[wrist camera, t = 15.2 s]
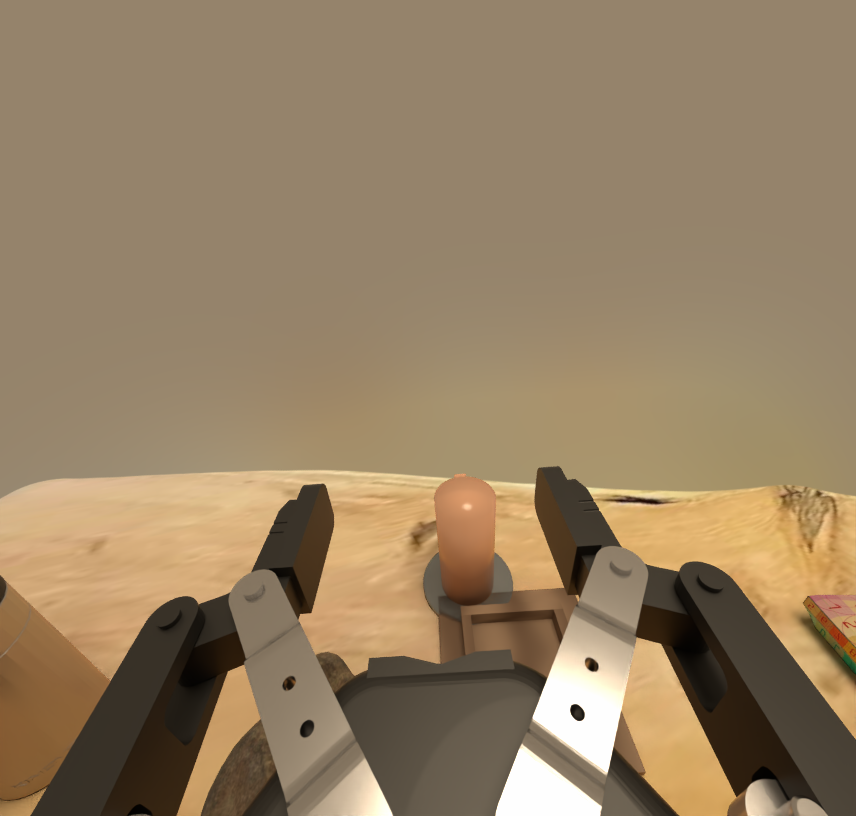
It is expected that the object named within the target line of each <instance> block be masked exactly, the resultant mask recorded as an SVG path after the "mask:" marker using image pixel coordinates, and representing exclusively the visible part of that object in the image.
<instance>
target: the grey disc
mask: <svg viewBox="0 0 856 816" xmlns="http://www.w3.org/2000/svg"><path fill="white" fill-rule="evenodd" d="M423 584H424V592H425V596H426V599H427V602H428V604H429V605H430V607H431V608H432V610H433V611H434V612H435V613H436V614H437V615H438V616H439V614H440V613H441V614H442V613H444V616H445V617H446V615H447V617H448V614H451V619H453V618H452V616H453V617H454V619H460V618H461V614H458V613H461V612H459V611H461V606H463V605H460V606H459V607H457V609H456V607H455V606H456V604H457V603H456V604H455V606H454V605H453V603H455V602H453V601H452V600H451V601H448V600H447V599H448V598H447V595H446V594H445V592H444V590H443V587H442V582H441V570H440V559H439V552H438V553H437V554H436V555H435V556H434V557H433V558H432V559H431V561H430V562H429V564H428V566H427V568H426V570H425V574H424V581H423ZM511 591H513V581H512V576H511V573H510V570H509V568H508V566H507V565H506V563H505V562H504V561H503V559H502V558H501V557H500V556H499V555H497V554H496V553H495V552H494V585H493V590H492V592H491V594H490V596H489V599H493V597H491V596H493V595H498V594H499V592H500V593H501V594H500V595H498V597H497V596H494V601H495V599H496V601H497V602H496V601H495V603H494V602H492V601H490V600H488V601H487V600H485V601H487V602H486V603H485V602H482V603H481V604H482V605H487V604H488V605H489V604H491V603H492V604H504V603H508V602H509V600H510V599H511V596H512V592H511ZM503 592H504V593H503ZM505 592H506V593H507V594H505ZM492 593H493V595H492ZM494 593H495V594H494ZM496 593H497V594H496ZM502 593H503V594H502ZM510 593H511V594H510ZM504 594H505V595H504ZM508 594H509V595H508ZM503 595H504V597H502V598H501V596H503ZM438 596H440V597H438ZM442 596H446V598H445V597H444V598H445V605H446V604H450V605H449V606H448V607H447V605H446V606H445V605H444V604H442V603H444V599H441V598H443V597H442ZM497 598H500V599H501V600H499V599H497ZM506 598H508V599H507V601H506V600H504V599H506ZM502 599H503V600H502ZM441 600H442V601H443V602H442V601H441ZM449 600H450V599H449ZM440 601H441V602H440ZM446 601H448V602H446ZM500 601H501V602H500ZM502 601H503V602H502ZM504 601H505V602H504ZM438 602H439V604H438ZM451 602H452V603H451ZM489 602H490V603H489ZM440 604H441V605H440ZM481 604H480V605H481ZM444 606H445V607H444ZM451 606H452V607H451ZM457 606H458V605H457ZM449 607H450V608H452V609H453V610H452V609H451V610H450V608H449ZM443 608H444V609H443ZM454 608H455V609H454ZM459 608H460V610H459ZM441 609H442V610H441ZM447 609H448V610H447ZM439 610H440V611H441V612H439ZM454 610H455V611H454ZM458 610H459V611H458ZM447 611H448V612H447ZM449 611H450V612H449ZM445 612H446V613H445ZM454 613H457V615H453V614H454ZM441 614H440V615H441ZM445 614H446V615H445ZM459 615H460V616H459ZM442 616H443V614H442ZM444 616H443V617H444ZM455 616H456V617H455ZM457 616H458V617H457ZM449 619H450V618H449ZM452 621H455V620H452ZM456 621H457V620H456ZM458 621H459V622H460V621H461V620H458ZM461 623H462V621H461ZM480 624H481V623H480ZM472 625H476V624H472Z"/></svg>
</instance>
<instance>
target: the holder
mask: <svg viewBox="0 0 856 816" xmlns="http://www.w3.org/2000/svg"><path fill="white" fill-rule="evenodd" d="M511 592H512V596H511V599H510V600H509V602H508V603H504V604H492V603H491V604H489V605H488V604H487V605H482V604H481V603H480V604H481V605H480V604H478V605H473V606H461V611H459V610H460V608H459V610H458V611H459V612H461V613H458V614H461V618H460V619H454V617H453V616H452V618H453V619H451V614H448V617H447V615H446V614H445V615H446V617H445V616H444V613H442V614H443V616H444V617H443V616H442V614H441V613H440V614H441V615H440V614H439V625H440V646H441V664H442V663H446V662H448V661H451V660H454V659H457V658H459V657H462V656H465V655H467V654H470V653H473V652H476V651H491V650H507V649H511V654H512V659H513V661H515V662H519V663H522V664H525V665H527V666H529V667H531V668H533V669H535V670H537V671H539V672H540V673H542V674H543V675H544V676H546V677H547V678H548V676H549V674H550V671H551V668H552V666H553V663H554V661H555V658H556V655H557V653H558V650H559V647H560V645H561V642H562V639H563V637H564V634H565V631H566V629H567V626H568V623H569V621H570V618H571V615H572V613H573V610H574V608H575V606H576V605H577V604H578V601H577V599H576V596H575V595H567V593H566V590H565V588H557V589H542V590H526V591H511ZM503 593H504V592H503ZM503 593H502V594H503ZM494 594H495V593H494ZM496 594H497V593H496ZM500 594H501V593H500V592H499V594H498V595H500ZM505 594H507V593H506V592H505ZM505 594H504V595H505ZM510 594H511V593H510ZM492 595H493V593H492ZM498 595H493V596H491V597H493V599H489V597H488V598H487V599H486V600H487V601H488V600H490V601H492V602H494V603H495V601H496V599H495V601H494V596H497V597H498ZM504 595H503V596H501V598H502V597H504ZM508 595H509V594H508ZM438 597H440V596H438ZM442 597H443V598H441V599H444V603H442V604H444V605H445V598H446V596H442ZM444 597H445V598H444ZM447 598H448V597H447ZM497 599H499V600H501V599H500V598H497ZM507 599H508V598H506V599H504V600H506V601H507ZM447 600H448V601H451V599H450V600H449V598H448V599H447ZM502 600H503V599H502ZM441 601H442V600H441ZM441 601H440V602H441ZM448 601H446V602H448ZM487 601H484V602H485V603H486V602H487ZM442 602H443V601H442ZM496 602H497V601H496ZM500 602H501V601H500ZM502 602H503V601H502ZM504 602H505V601H504ZM451 603H452V602H451ZM489 603H490V602H489ZM438 604H439V602H438ZM455 604H456V603H453V605H454V606H455ZM440 605H441V604H440ZM446 605H447V607H448V606H449V605H450V604H446ZM446 605H445V606H446ZM457 605H458V606H457ZM445 606H444V607H445ZM459 606H460V604H456V606H455V607H456V609H457V607H459ZM451 607H452V606H451ZM449 608H450V607H449ZM443 609H444V608H443ZM451 609H452V608H450V610H451ZM454 609H455V608H454ZM441 610H442V609H441ZM447 610H448V609H447ZM452 610H453V609H452ZM454 611H455V610H454ZM439 612H441V611H440V610H439ZM447 612H448V611H447ZM449 612H450V611H449ZM445 613H446V612H445ZM453 615H457V613H454V614H453ZM459 616H460V615H459ZM455 617H456V616H455ZM457 617H458V616H457ZM449 618H450V619H449ZM452 620H455V621H452ZM456 620H457V621H456ZM458 620H461V621H462V623H461V621H460V622H459V621H458ZM480 623H481V624H480ZM472 624H476V625H472ZM613 746H614V747H615V748H616V749H617V751H618V752H619V753H620V754H621V755H622V756H623V757H624V758H625V759H626V760H627V761H628V762H629V763H630V764H631V765H632V766H633V768H634V769H635V770H636V771H637V772H638V773H639V774H640V775H644V774H645V769H644V767H643V764H642V762H641V759H640V757H639V754H638V752H637V749H636V747H635V744H634V742H633V739H632V737H631V734H630V732H629V729H628V727H627V724H626V722H625V719H624V717H623V714H622V711H621V712H620V717H619V722H618V726H617V731H616V735H615V740H614V744H613Z"/></svg>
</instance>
